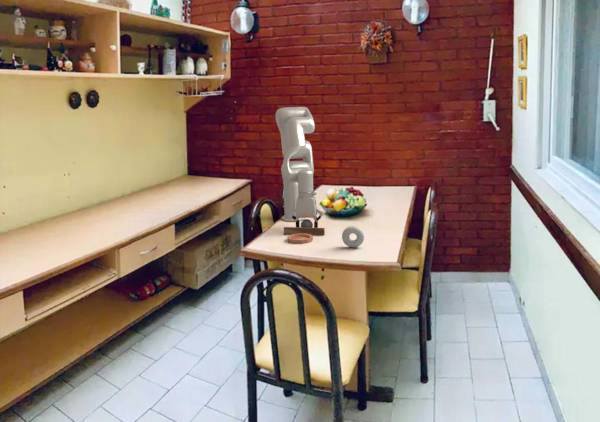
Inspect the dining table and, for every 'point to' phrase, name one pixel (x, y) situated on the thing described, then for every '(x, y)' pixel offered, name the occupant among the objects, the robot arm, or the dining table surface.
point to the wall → (304, 230)
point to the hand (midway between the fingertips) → (306, 228)
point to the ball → (306, 223)
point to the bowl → (300, 238)
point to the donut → (357, 232)
